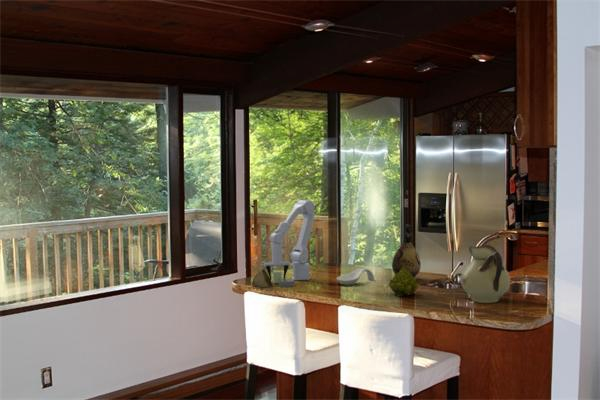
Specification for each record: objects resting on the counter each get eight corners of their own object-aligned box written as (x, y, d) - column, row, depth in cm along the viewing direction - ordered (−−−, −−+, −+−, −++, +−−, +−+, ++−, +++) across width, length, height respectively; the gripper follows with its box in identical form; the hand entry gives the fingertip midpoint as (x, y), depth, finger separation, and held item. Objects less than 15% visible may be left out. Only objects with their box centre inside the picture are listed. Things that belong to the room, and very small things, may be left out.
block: (281, 281, 398) (281, 270, 397) (281, 282, 393) (281, 271, 393) (273, 281, 397) (273, 270, 397) (273, 283, 393) (273, 272, 392)
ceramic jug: (422, 281, 388) (422, 226, 386) (393, 282, 389) (393, 226, 387) (418, 276, 405) (417, 223, 403) (390, 276, 406) (390, 223, 404)
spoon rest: (347, 287, 377) (347, 273, 377) (332, 284, 386) (332, 271, 386) (378, 281, 393) (378, 268, 392) (363, 279, 402) (363, 266, 401)
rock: (246, 282, 385) (255, 282, 376) (253, 268, 388) (263, 267, 380) (261, 292, 389) (271, 292, 381) (267, 278, 392) (278, 278, 384)
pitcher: (473, 293, 354) (473, 242, 352) (520, 299, 339) (520, 246, 337) (452, 301, 337) (452, 248, 335) (500, 308, 322) (500, 252, 320)
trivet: (293, 284, 390) (293, 278, 390) (294, 286, 382) (294, 281, 382) (278, 284, 390) (278, 279, 390) (279, 287, 382) (279, 281, 382)
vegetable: (395, 291, 343) (395, 262, 350) (384, 303, 356) (384, 275, 364) (425, 295, 345) (424, 267, 353) (413, 307, 359) (412, 279, 366)
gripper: (263, 256, 390) (264, 281, 391) (290, 255, 391) (291, 280, 392) (263, 254, 397) (264, 278, 398) (289, 253, 398) (290, 278, 399)
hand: (277, 279), depth 395 cm, fingers open, 7 cm apart
